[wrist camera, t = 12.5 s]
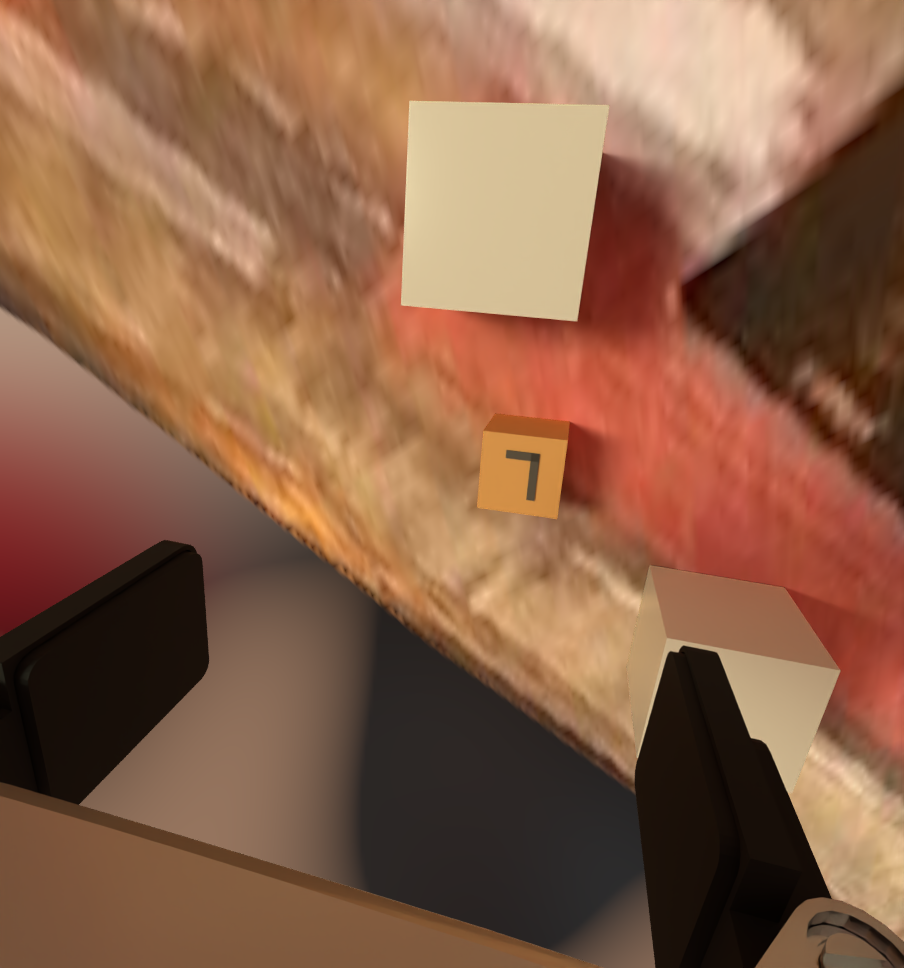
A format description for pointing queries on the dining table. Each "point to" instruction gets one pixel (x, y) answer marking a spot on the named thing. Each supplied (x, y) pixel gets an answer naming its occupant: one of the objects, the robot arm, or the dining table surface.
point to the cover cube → (500, 206)
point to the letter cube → (523, 465)
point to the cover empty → (736, 656)
